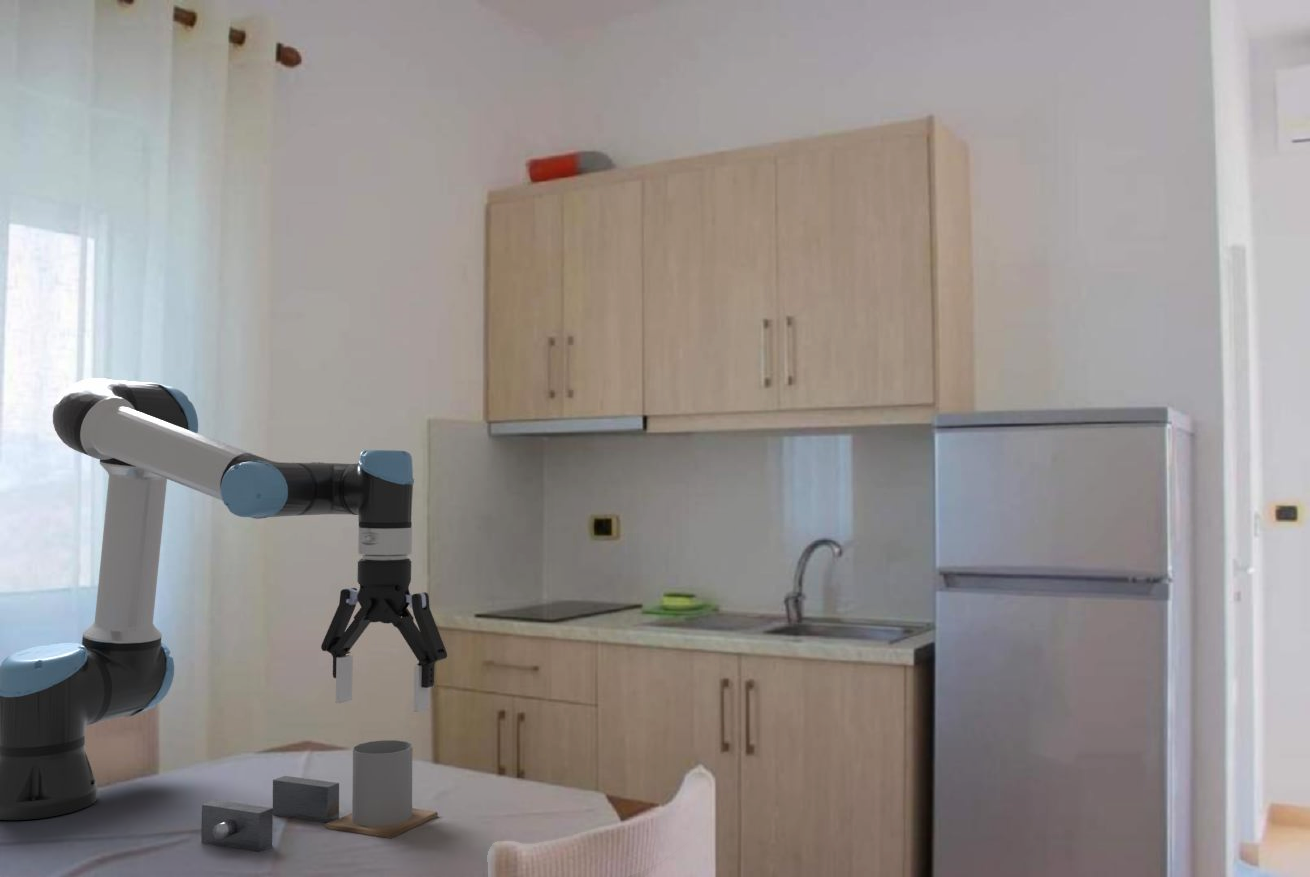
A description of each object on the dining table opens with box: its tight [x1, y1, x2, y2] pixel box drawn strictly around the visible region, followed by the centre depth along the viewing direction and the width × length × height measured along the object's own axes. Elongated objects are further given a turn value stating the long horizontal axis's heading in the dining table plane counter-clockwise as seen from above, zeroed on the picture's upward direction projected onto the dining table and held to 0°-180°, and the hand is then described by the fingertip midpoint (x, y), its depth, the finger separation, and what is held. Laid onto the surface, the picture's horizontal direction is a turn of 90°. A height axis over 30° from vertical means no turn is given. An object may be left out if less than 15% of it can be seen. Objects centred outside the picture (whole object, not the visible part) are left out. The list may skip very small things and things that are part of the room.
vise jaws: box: [200, 775, 340, 853], centre depth 157 cm, size 10×20×5 cm, turn 156°
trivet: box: [325, 807, 439, 839], centre depth 161 cm, size 11×11×1 cm
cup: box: [351, 739, 413, 827], centre depth 161 cm, size 8×8×10 cm
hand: (382, 706), depth 161 cm, fingers open, 13 cm apart
